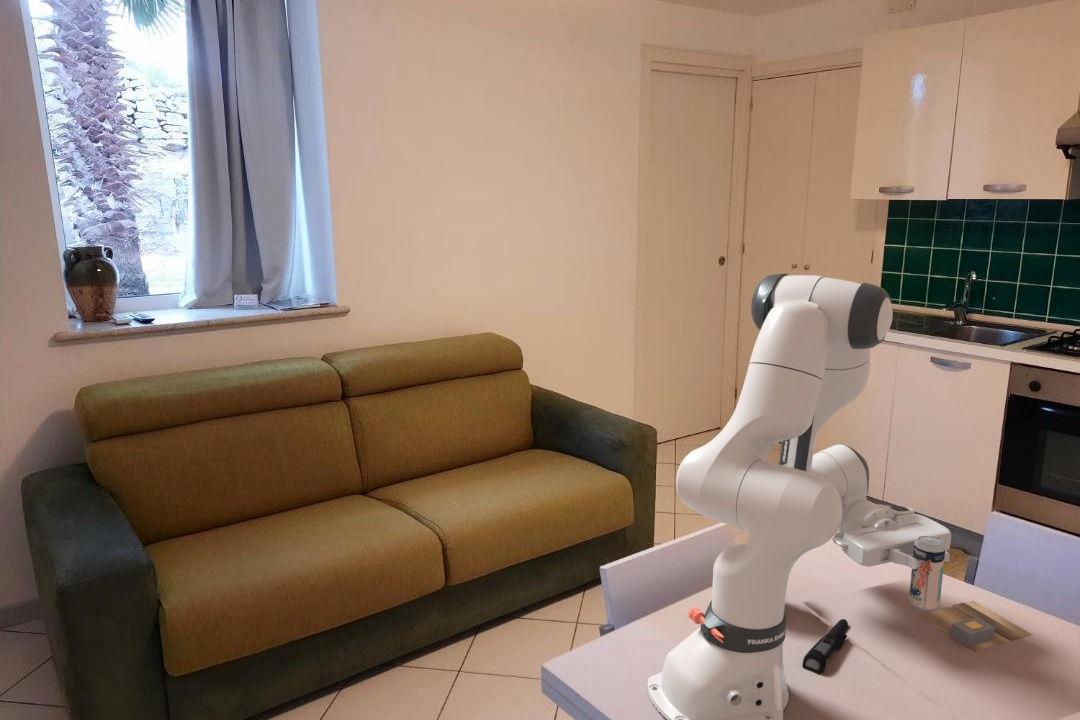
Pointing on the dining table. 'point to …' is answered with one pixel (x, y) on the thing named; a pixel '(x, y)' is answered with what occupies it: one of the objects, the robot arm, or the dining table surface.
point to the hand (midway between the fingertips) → (932, 561)
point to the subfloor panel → (972, 610)
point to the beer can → (927, 573)
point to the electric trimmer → (825, 648)
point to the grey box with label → (972, 631)
